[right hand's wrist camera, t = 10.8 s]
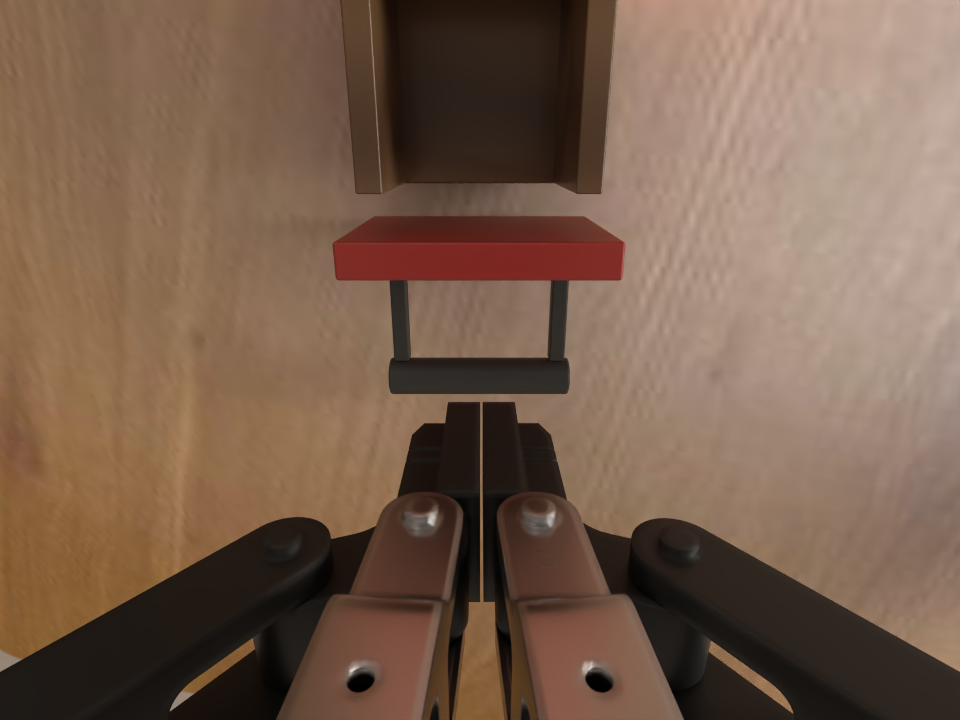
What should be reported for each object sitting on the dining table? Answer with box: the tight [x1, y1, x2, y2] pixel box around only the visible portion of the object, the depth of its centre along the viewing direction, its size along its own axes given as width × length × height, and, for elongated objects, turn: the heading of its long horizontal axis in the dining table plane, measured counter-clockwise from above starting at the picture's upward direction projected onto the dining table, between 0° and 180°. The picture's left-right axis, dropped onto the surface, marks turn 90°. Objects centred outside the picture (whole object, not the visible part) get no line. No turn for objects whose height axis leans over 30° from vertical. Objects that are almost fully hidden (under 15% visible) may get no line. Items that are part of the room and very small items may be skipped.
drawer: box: [333, 0, 625, 394], centre depth 18 cm, size 23×9×7 cm, turn 0°
